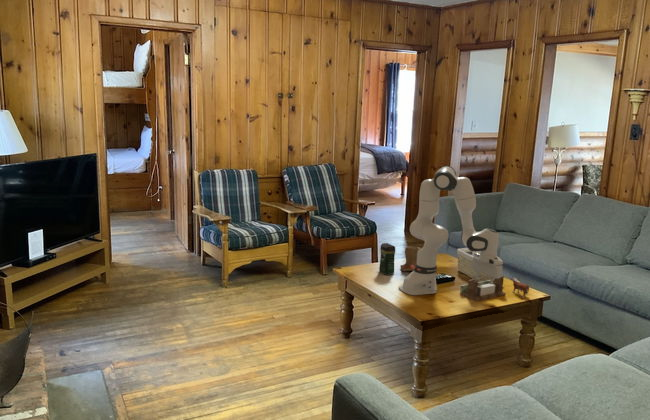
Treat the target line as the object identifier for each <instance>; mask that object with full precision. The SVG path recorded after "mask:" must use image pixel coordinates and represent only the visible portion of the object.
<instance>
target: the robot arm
mask: <svg viewBox="0 0 650 420" xmlns="http://www.w3.org/2000/svg"><path fill="white" fill-rule="evenodd" d="M441 191H449V192H450V191H451V192H452V195H453V198H454V203H455V206H456V209H457V210H458V211H457V212H458V214H459V217H460V223H461V229H462V230H461V235H460V241H461V243H462V245H464V247H465V248H468V249H469V250H471V251H480V255H479V254H477V253H476V254H475V255H474V257H473V260H472V264H471V268H472V269H474V270H476V275H477V277H476V278H477V279H480V277H481V276H480V274H479V272H481V273H484V274H486V275H488V276H491V280H490V281H489V284H494V280H495V278H496V279H498V278H501V277H502V276H503V269H504V268H503V264H504V261H503V259H502V258H500V257H499V256H498V251H497V249H498V247H499V237H500V236H499V232H498V231H496V230H494V229H492V228H484V229H482V230H481V231H478V232H477V231H476V229H475V227H474V223H473V221H474V219H473V216H472V215H473V212H474V210H476V208H477V199H476V198H477V197H476V194H475V190H474V187H473V184H472V182H471V179H470V178H468V177H466V176H460V177H459V176H457V173H456V170H455V169H454V168H453V167H452V166H450V165H444V166H441V167H439V168H438V169H437V170H436V172H435V174H434V175H433V178H428V179H424V180H423V181H422V182H421V183H420V189H419V195H418V196H419V197H418V198H419V199H418V200H419V203H418V204H419V205H418V214H417V216H416V218H415V219H414V220H413V222H411V224H410V225H409V232H410V235H411V236H412V237H414V238H416V239H417V240H421V241H424V244H423V247H419V248H420V249H419V250H418V252H417V263H416V265H415V266H413V265H411V267H410V268H412V269H414V271H412V272H410V273H409V274H408V275H407V276H405V278H404V279H403V282H402V285H399V286H398V289H399V290H400V291H401V292H402V293H405V294H408V295H411V296H419V295H420V296H422V295H430V294H432V295H433V294H436V293H437V290H438V287H437V280H436V279H437V277H436V276H437V275H436V273H437V268H438V267H437V258H438V253H439V250H440V248H441V247H442V246H443V245H445V244H446V243H447V241H448V239H449V231H448V229H447V228H445V227H443V226H442V225H440V224H436V223H433V219H434V217H436V216H437V215H438V214H439V213H440V195H441V194H440V193H441Z"/></svg>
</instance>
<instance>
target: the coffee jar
mask: <svg viewBox="0 0 650 420" xmlns="http://www.w3.org/2000/svg"><path fill="white" fill-rule="evenodd" d="M379 251H380V259H379V268H378V271H379V272H380V273H382V274H383V275H393V274H395V255H396V246H395V245H392V244H391V243H388V242H383V243H381V244H380V250H379Z"/></svg>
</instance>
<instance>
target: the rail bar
mask: <svg viewBox="0 0 650 420" xmlns="http://www.w3.org/2000/svg"><path fill="white" fill-rule="evenodd" d="M495 289H496V285H494V283H493V284H485V285H480V286H477V295H479V296H482V295H487V294H491V293H495Z"/></svg>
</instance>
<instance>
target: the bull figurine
mask: <svg viewBox="0 0 650 420" xmlns="http://www.w3.org/2000/svg"><path fill="white" fill-rule="evenodd" d="M510 280H511V281H512V283H513V284H512V285H513V291H512V292H514V293H515V291H516V290H517V292H516V293H517V294H519V293H520V292H523V295H522V298H525V296H526V295H527V296H528V294H529V290H530V286H529V285H528V284H526V283H523V282H521V281H519V280H520V279H517V277H513V278H511V279H510ZM514 293H513V294H514Z"/></svg>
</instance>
